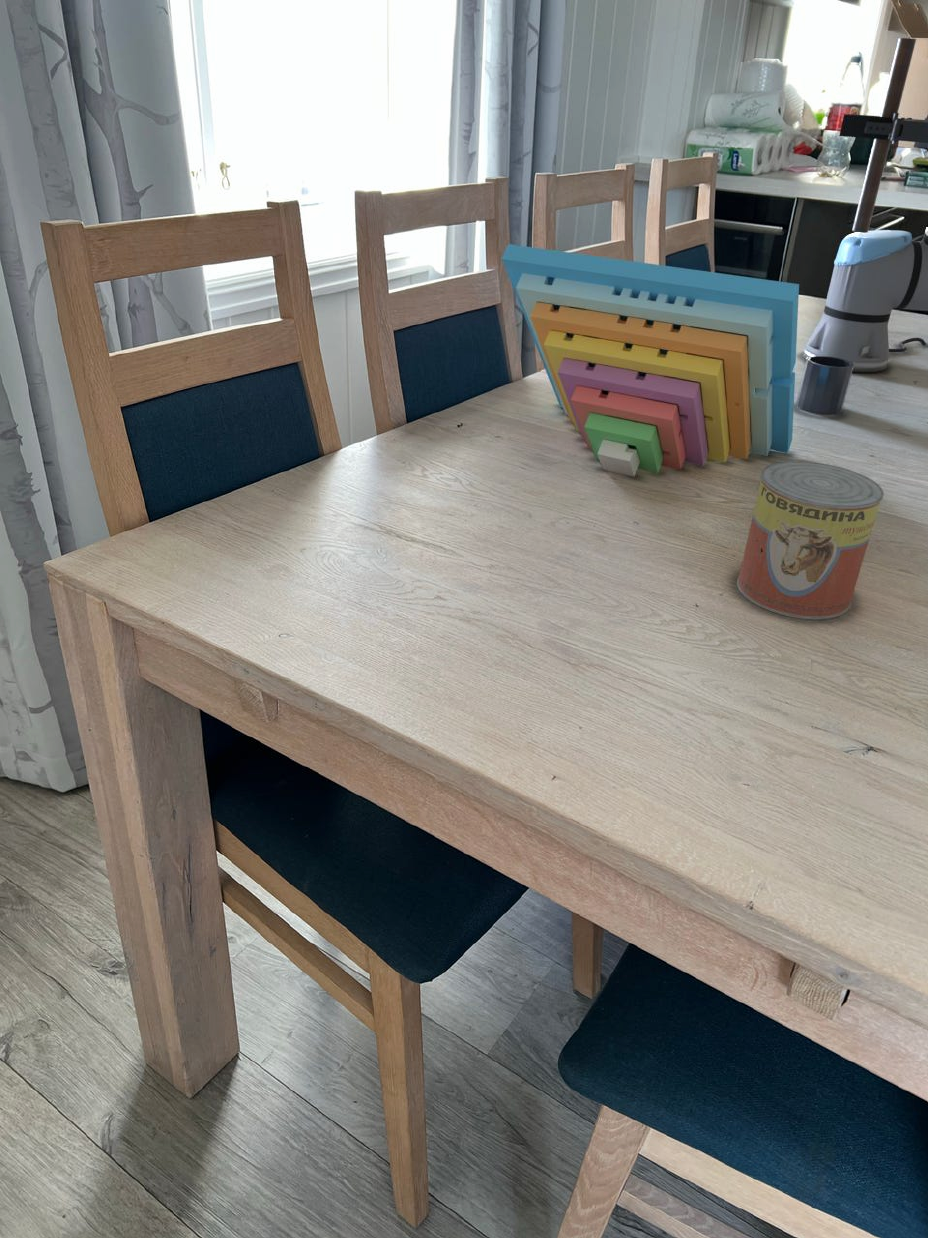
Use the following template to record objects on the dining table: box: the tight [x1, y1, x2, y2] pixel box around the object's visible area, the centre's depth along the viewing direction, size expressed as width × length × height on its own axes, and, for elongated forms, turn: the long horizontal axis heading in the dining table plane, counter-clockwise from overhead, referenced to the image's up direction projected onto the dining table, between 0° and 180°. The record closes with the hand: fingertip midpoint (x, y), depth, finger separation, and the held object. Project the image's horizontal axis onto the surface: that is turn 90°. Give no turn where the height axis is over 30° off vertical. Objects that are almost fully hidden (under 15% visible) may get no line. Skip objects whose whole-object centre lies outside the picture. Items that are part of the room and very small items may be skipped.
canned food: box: [736, 460, 885, 621], centre depth 93 cm, size 11×11×12 cm
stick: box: [851, 37, 917, 233], centre depth 131 cm, size 2×2×24 cm
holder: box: [795, 356, 854, 416], centre depth 149 cm, size 7×7×8 cm
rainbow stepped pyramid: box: [501, 243, 800, 478], centre depth 123 cm, size 35×18×35 cm
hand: (844, 124), depth 133 cm, fingers closed on stick, 2 cm apart
